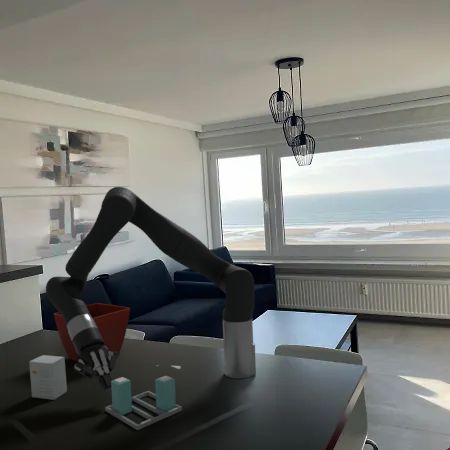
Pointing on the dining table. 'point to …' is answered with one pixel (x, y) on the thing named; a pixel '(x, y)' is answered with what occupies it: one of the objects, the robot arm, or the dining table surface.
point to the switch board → (142, 413)
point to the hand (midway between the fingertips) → (109, 388)
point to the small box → (48, 377)
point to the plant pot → (106, 323)
